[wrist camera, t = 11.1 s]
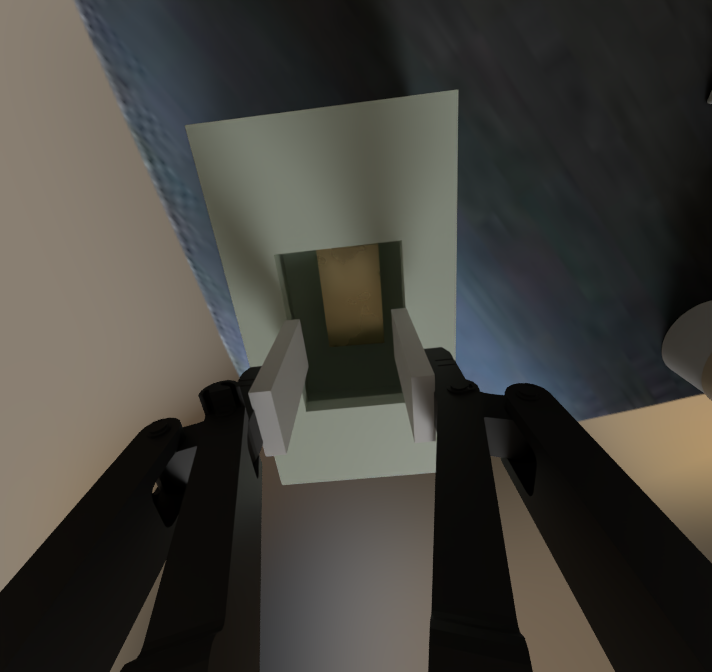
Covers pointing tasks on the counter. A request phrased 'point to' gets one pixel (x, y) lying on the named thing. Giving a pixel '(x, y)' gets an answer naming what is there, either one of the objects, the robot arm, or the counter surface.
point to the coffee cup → (691, 347)
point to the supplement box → (710, 98)
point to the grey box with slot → (332, 230)
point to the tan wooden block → (351, 294)
